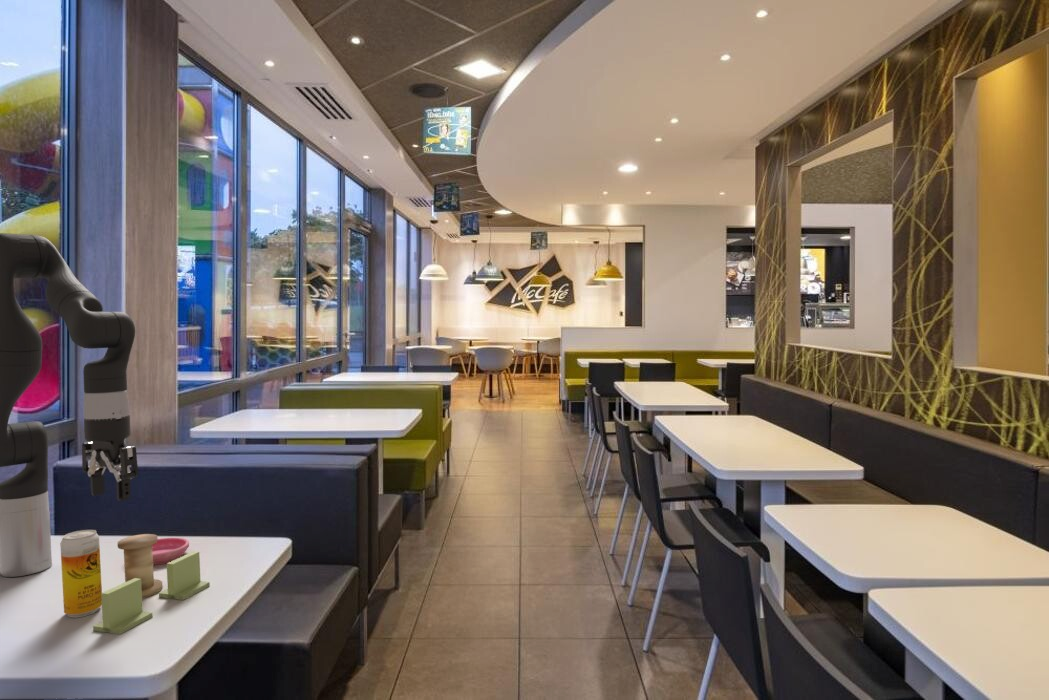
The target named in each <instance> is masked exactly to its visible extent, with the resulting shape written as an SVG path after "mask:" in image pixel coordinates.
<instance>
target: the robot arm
mask: <svg viewBox="0 0 1049 700" xmlns="http://www.w3.org/2000/svg"><path fill="white" fill-rule="evenodd" d="M39 278H41V279H44V280H46V281H47V283H46V286H45V289H44V290H45V292H44V293H45V300H46V301H47V303H48V305H49V306H50V307H51V309H52V310H53V311H54V312H56V314H58V316H60V318H62V320H63V321H64V323H65V326H66V327H67V331H68V332H69V337H70V339H71V341H72V342H73V344H75V345H77V346H79V347H81V348H83V349H87V350H88V349H89V350H93V349H106V352H105V354H104V356H103V357H102V358H100V359H97V360H96V359H95V360H93V361H89V362H87V363H86V364H85V365H84V366H83V371H82V373H83V391H84V394H83V404H82V405H83V406H82V407H83V409H82V410H83V411H82V412H83V428H84V430H83V431H84V440H85V441H86V442H82V444H81V456H82V457H81V459H82V460H81V461H82V462H81V465H82V466H81V467H82V468H81V469H82V473H84V474H85V473H87V476H88V477H89V478H90V494H91V495H92V496H95V497H96V496H99V495H104V494H105V491H106V489H105V475H104V473H105V471H106V469H108V471H109V473H111V474H112V475H114V478H115V480H116V481H115V485H116V486H115V487H116V500H117V501H120V502H123V501H127V500H129V499H130V498H131V494H132V493H131V480H132V479H134V478H137V477H138V476H139V470H138V469H139V468H138V455H137V447H136V446H135V445H131V446H126V444H125V440H126V439H128V438H129V437H131V434H132V432H131V415H130V413H131V412H130V399H129V394H128V384H127V383H128V380H127V379H128V377H127V368H128V365H129V359H130V355H131V351H132V348H133V345H134V341H135V337H136V326H135V324H134V321H133V319H132V318H131V317H130V316H129V315H128V314H127V313H126V312H124V311H104V309H103V305H102V303H101V301H100V300H99V299H98V297H96V295H94V294H93V293H92V292H91V291H90V290H89V289H87V287H85V285H83V284H82V282H80V281H79V279H77V277H76V276H75V275H74V273H73V271H72V270H71V268H70V267H69V265H68V264H67V262H66V260H65V259H64V258H63V256H62V255H61V253H60V252H59V250H58V249H57V247H56V246H55V245H54V243H52V242H51V241H50V240H49V239H48V238H46V237H44V236H42V235H39V234H38V235H37V234H24V233H23V234H22V233H10V232H9V233H8V232H7V233H5V232H0V468H4V467H5V468H6V467H12V466H18V465H25V467H24V468H23V469H22V470H21V471H20V472H18V473H17V474H15V475H14V476H12V477H9V478H8V479H6V480H3V481H2V482H0V575H1V576H2V577H4V578H5V577H6V578H15V577H23V576H28V575H32V574H33V575H34V574H35V573H40V572H42V571H45V570H47V569H49V568H50V567H51V566H52V565H53V562H52V561H53V559H52V558H53V556H52V538H51V520H50V519H51V518H50V517H51V516H50V500H49V483H48V482H49V467H48V466H49V464H48V463H49V462H48V461H49V460H48V459H49V458H48V457H49V456H48V455H49V438H48V432H47V428H46V426H45V425H44V423H42V422H41V421H37V420H36V421H35V420H34V421H25V422H16V423H15V422H14V423H9V420H10V417H11V414H12V411H13V409H14V406H15V405H16V403H17V402H18V401H19V399H20V398H21V397H22V395H23V394H24V393H25V391H26V390H27V389H28V388H29V386H31V384H32V383H33V381H34V380H35V379H36V377H38V375H39V373H40V371H41V368H42V362H43V360H42V359H43V339H42V335H41V333H40V332H39V330H38V329H37V327H36V326H35V324H34V323H33V321H32V320H31V319H30V317H29V316H28V315H27V314H26V313H25V311H24V310H23V309H22V307H21V305H20V304H19V302H18V300H17V297H16V293H15V287H14V279H39ZM130 466H131V467H130Z"/></svg>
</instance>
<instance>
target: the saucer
mask: <svg viewBox="0 0 1049 700" xmlns="http://www.w3.org/2000/svg"><path fill="white" fill-rule="evenodd" d="M189 547H190V542H189V540H188V539H186V538H183V537H164V538H163V537H161V538H158V541H157V542H156V543H155V544H152V552H153V566H156V565H158V566H159V565H162V564H163V565H164V564H167V563H169V562H170V561H173V560H175V559H178V558H179V557H182V556H184V554H185V552H187V550H188V548H189Z"/></svg>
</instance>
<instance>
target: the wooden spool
mask: <svg viewBox="0 0 1049 700" xmlns="http://www.w3.org/2000/svg"><path fill="white" fill-rule="evenodd" d="M158 539H159V538H158V535H157V534H153V533H152V534H151V533H143V534H136V535H131V536H126V537H124V538H122V539H120V540H118V542H117V548H118V549H119V550H123V559H124V560H123V561H124V583H125V582H127V581H129V580H132V579H134V578H138V579H141V587H142V599H145V598H148V597H151V596H154V595H156V594H159V593H160V592H162V590H163V587H164V585H163V581H162V580H160V579H156V578H155V574H154V565H153V552H152V544H155V543H156V542H157V541H158Z"/></svg>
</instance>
